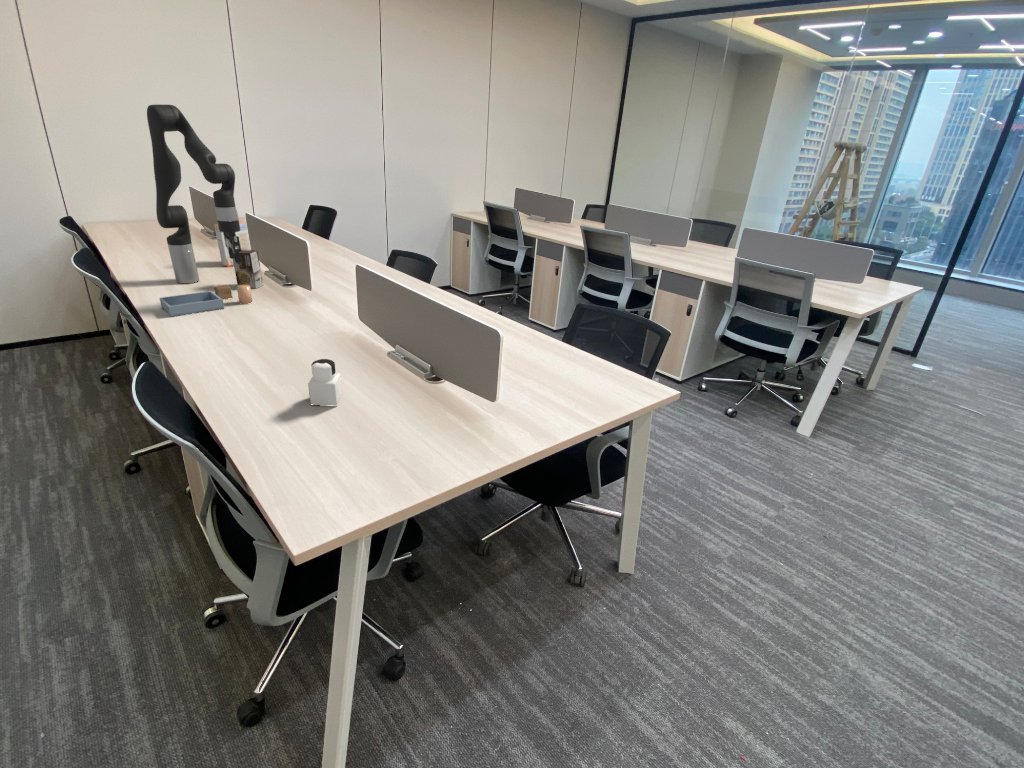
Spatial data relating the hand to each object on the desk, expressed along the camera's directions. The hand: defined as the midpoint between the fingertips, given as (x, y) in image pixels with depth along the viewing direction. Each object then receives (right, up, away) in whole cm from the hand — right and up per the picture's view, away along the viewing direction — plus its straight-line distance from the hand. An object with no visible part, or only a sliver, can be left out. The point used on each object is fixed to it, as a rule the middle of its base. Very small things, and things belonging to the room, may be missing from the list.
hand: (235, 260), depth 207 cm
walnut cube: (-11, -14, +11) cm, 20 cm away
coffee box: (-8, -5, +28) cm, 29 cm away
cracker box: (-32, +12, +60) cm, 69 cm away
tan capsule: (+1, -16, +7) cm, 18 cm away
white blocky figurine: (+60, -55, -63) cm, 103 cm away
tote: (-15, -20, -4) cm, 25 cm away
